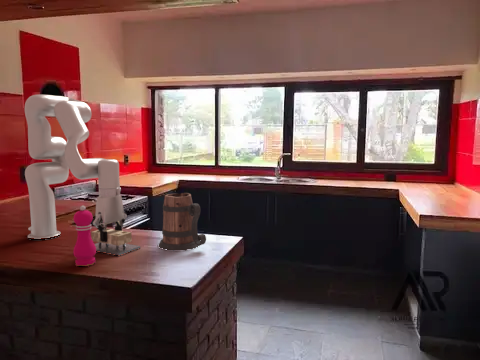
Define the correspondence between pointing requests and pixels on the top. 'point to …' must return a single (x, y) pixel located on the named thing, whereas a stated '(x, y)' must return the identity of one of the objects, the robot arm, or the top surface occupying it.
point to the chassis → (115, 248)
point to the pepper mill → (84, 238)
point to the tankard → (180, 223)
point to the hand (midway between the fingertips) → (111, 238)
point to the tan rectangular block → (113, 237)
